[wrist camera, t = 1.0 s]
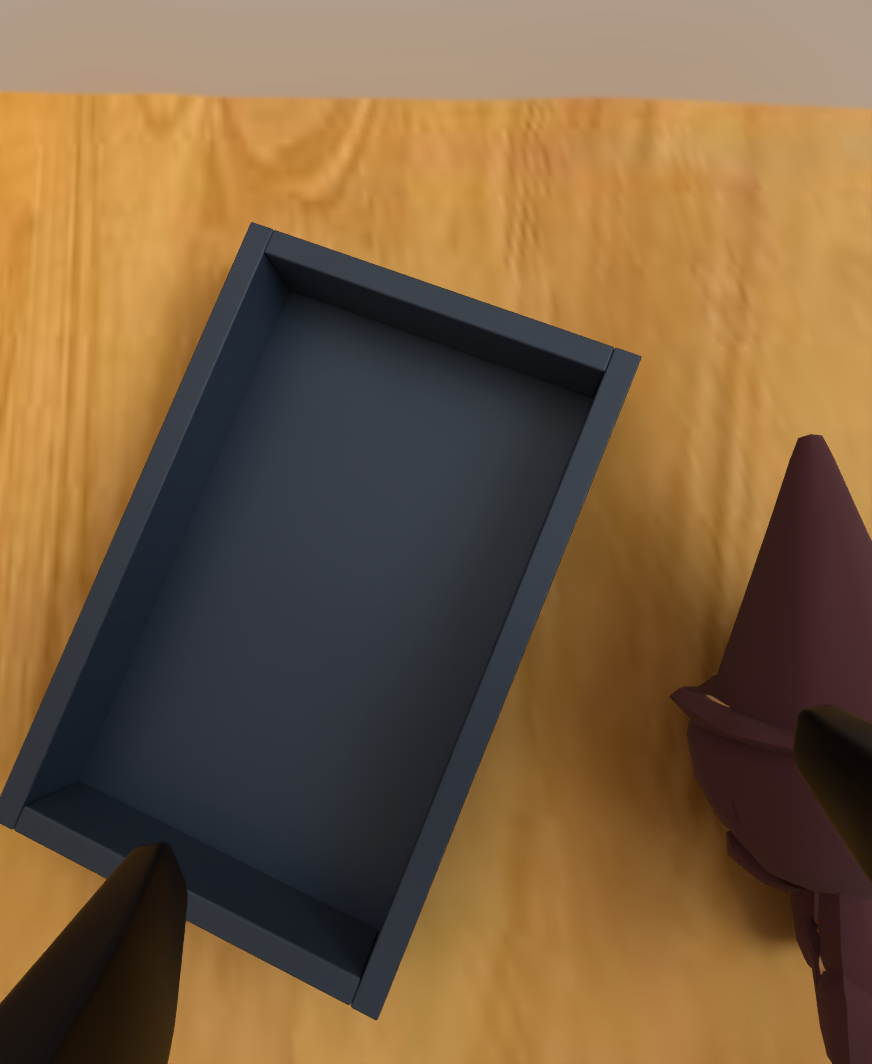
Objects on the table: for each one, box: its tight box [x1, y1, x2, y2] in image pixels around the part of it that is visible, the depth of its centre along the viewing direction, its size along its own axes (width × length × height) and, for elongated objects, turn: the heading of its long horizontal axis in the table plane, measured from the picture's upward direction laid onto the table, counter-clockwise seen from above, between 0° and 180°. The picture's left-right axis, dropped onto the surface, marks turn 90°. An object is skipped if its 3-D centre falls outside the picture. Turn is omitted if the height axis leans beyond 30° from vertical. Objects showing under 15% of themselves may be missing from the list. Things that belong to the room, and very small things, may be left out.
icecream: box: [669, 434, 872, 1064], centre depth 16 cm, size 7×7×15 cm
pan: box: [0, 222, 641, 1020], centre depth 20 cm, size 13×20×3 cm, turn 158°
